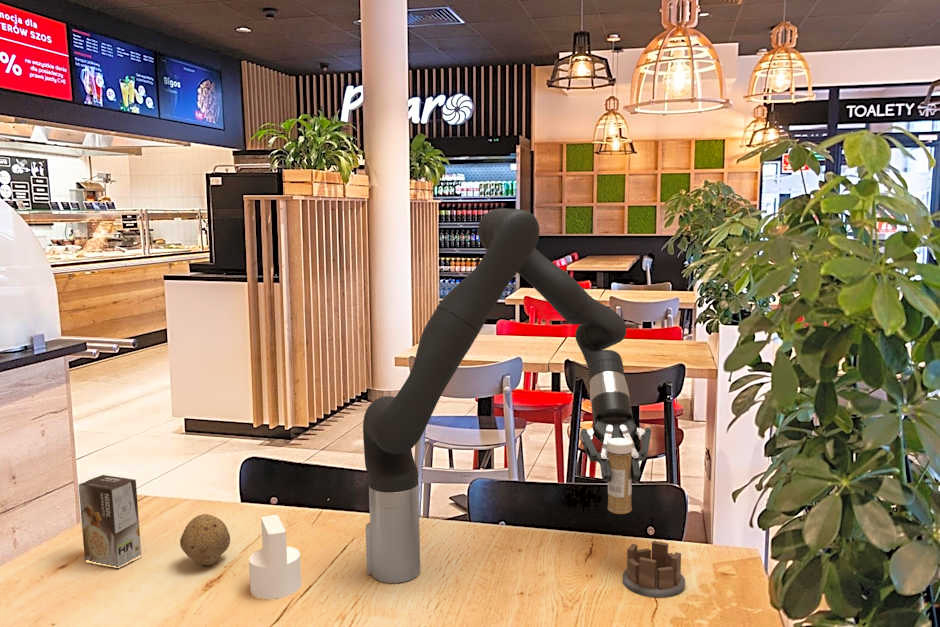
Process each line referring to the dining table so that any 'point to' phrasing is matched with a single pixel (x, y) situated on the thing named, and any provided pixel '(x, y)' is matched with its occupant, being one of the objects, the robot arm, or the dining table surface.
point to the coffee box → (110, 520)
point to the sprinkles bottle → (619, 475)
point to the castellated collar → (654, 571)
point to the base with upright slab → (274, 563)
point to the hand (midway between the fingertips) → (622, 479)
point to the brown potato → (205, 539)
